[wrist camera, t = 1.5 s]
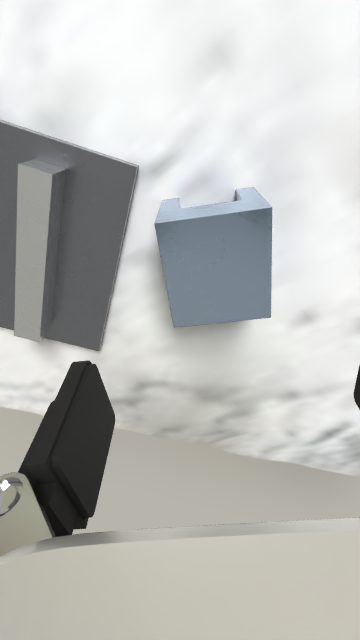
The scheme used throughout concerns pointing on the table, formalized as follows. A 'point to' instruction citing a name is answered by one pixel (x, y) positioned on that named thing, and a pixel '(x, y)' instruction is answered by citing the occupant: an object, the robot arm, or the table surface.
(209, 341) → the table surface
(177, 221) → the blue-grey slotted block
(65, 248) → the rail
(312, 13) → the table surface
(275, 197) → the table surface
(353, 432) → the table surface
